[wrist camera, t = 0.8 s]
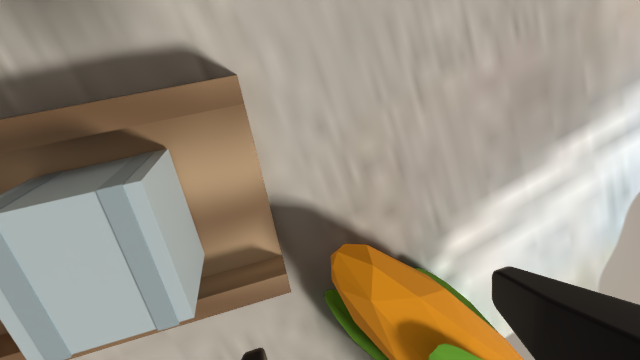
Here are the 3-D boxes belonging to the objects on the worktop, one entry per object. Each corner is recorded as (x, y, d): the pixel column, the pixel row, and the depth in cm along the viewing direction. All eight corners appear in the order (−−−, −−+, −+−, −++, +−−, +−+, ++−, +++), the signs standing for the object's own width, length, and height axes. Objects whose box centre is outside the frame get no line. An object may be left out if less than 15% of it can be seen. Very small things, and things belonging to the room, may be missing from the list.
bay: (284, 266, 20) (299, 324, 16) (-169, 398, 17) (-324, 524, 12) (236, 74, 16) (237, 76, 12) (-374, 190, 13) (-722, 259, 8)
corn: (516, 508, 21) (294, 374, 13) (441, 402, 28) (267, 274, 20) (598, 422, 21) (422, 238, 13) (502, 337, 28) (352, 186, 20)
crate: (204, 255, 18) (194, 320, 13) (86, 287, 17) (30, 369, 12) (167, 147, 16) (139, 180, 11) (29, 177, 15) (-64, 226, 10)
